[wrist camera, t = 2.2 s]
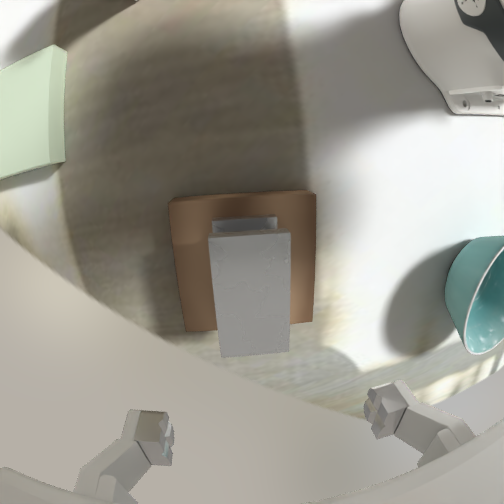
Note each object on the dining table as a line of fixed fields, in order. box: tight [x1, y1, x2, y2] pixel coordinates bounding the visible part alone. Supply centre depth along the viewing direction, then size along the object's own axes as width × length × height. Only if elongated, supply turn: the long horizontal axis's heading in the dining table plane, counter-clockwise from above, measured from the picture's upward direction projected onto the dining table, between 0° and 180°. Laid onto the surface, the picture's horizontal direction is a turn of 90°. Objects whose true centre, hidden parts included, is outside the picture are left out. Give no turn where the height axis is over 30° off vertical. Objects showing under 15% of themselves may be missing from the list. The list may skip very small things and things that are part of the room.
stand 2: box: [168, 190, 316, 332], centre depth 26 cm, size 12×12×3 cm
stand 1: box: [0, 44, 67, 180], centre depth 19 cm, size 12×12×3 cm
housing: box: [208, 214, 291, 357], centre depth 22 cm, size 5×9×6 cm, turn 2°
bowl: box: [445, 236, 504, 355], centre depth 27 cm, size 16×16×8 cm
